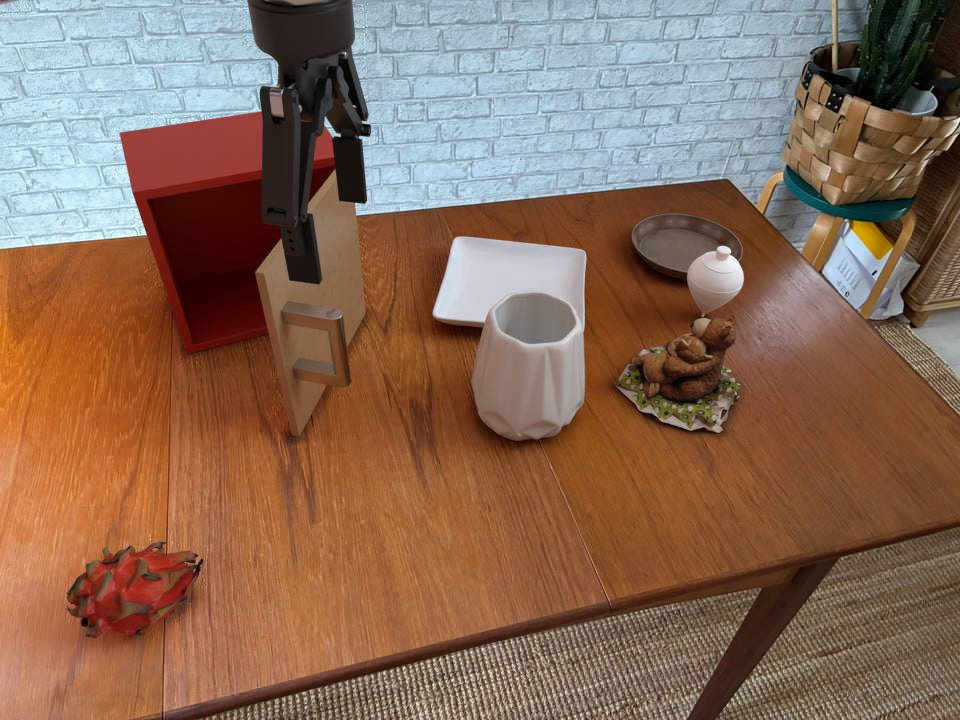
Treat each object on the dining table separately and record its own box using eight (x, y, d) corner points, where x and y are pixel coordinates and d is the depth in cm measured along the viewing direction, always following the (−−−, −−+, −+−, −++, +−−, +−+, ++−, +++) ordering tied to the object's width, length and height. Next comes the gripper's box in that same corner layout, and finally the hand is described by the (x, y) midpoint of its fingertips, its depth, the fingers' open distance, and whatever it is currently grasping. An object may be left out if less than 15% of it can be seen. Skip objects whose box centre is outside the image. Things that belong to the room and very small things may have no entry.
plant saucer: (621, 225, 122) (624, 210, 120) (722, 228, 122) (727, 213, 120) (638, 287, 109) (641, 271, 107) (751, 290, 109) (757, 274, 107)
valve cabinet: (361, 310, 103) (345, 154, 86) (187, 354, 95) (132, 192, 78) (329, 252, 113) (310, 103, 96) (170, 287, 105) (119, 132, 88)
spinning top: (712, 297, 108) (734, 230, 100) (738, 329, 102) (764, 260, 94) (667, 305, 106) (685, 237, 98) (692, 337, 101) (713, 268, 93)
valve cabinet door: (408, 319, 101) (401, 166, 85) (350, 447, 84) (326, 283, 67) (359, 311, 102) (343, 158, 86) (291, 435, 85) (254, 272, 68)
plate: (584, 264, 113) (587, 246, 111) (581, 352, 98) (584, 333, 95) (453, 251, 114) (453, 233, 112) (430, 336, 99) (430, 317, 97)
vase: (509, 356, 96) (516, 265, 86) (600, 400, 91) (620, 309, 80) (447, 416, 88) (447, 323, 78) (543, 470, 82) (557, 377, 72)
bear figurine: (642, 340, 100) (660, 270, 91) (747, 381, 94) (776, 311, 86) (603, 399, 91) (619, 327, 83) (716, 447, 86) (745, 375, 77)
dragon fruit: (77, 635, 68) (208, 595, 73) (71, 675, 60) (218, 627, 65) (59, 551, 67) (193, 517, 72) (51, 580, 59) (202, 540, 64)
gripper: (308, -57, 60) (335, 169, 75) (165, 42, 42) (236, 315, 57) (393, -50, 60) (403, 177, 74) (284, 54, 42) (326, 327, 56)
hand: (331, 237), depth 66 cm, fingers open, 13 cm apart
